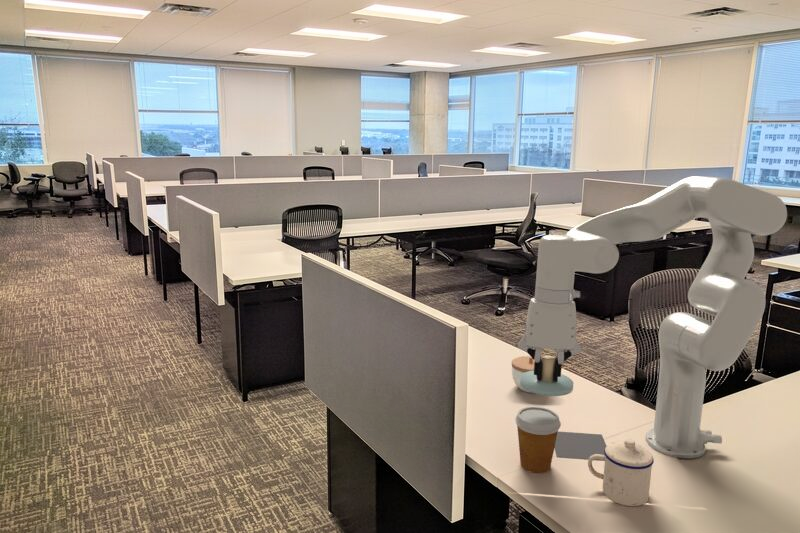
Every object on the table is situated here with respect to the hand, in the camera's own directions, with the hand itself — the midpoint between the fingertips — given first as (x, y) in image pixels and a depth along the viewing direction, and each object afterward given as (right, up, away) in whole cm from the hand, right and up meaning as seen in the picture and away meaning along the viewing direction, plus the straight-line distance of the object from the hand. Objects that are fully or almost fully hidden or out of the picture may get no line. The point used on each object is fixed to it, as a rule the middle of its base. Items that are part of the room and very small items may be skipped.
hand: (546, 378), depth 122 cm
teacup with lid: (+13, -22, -6) cm, 26 cm away
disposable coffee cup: (-2, -20, +3) cm, 20 cm away
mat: (+10, -18, +11) cm, 24 cm away
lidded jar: (+6, -11, +43) cm, 45 cm away
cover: (0, -2, 0) cm, 2 cm away
